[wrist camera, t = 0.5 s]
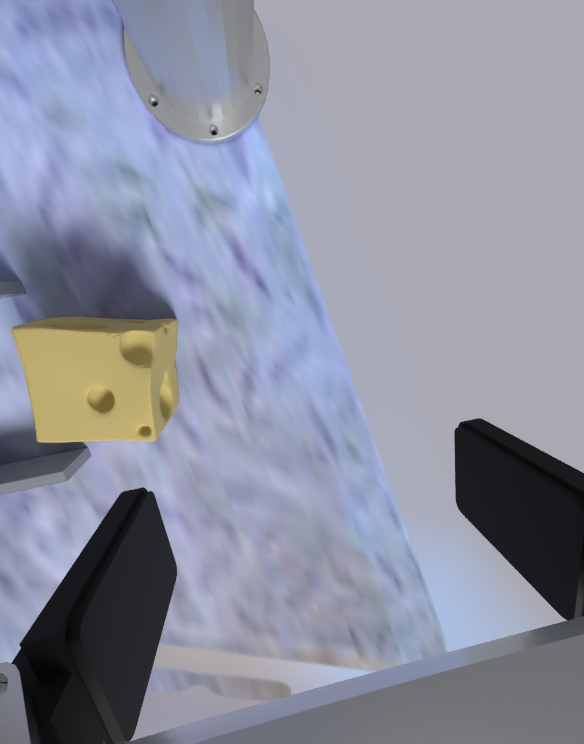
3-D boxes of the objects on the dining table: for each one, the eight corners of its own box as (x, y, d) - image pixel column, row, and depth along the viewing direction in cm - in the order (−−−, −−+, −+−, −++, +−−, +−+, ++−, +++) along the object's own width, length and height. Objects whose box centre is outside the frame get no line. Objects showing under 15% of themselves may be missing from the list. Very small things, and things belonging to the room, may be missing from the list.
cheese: (179, 317, 34) (151, 328, 24) (182, 407, 37) (158, 449, 27) (77, 312, 32) (5, 322, 23) (89, 406, 35) (29, 451, 26)
